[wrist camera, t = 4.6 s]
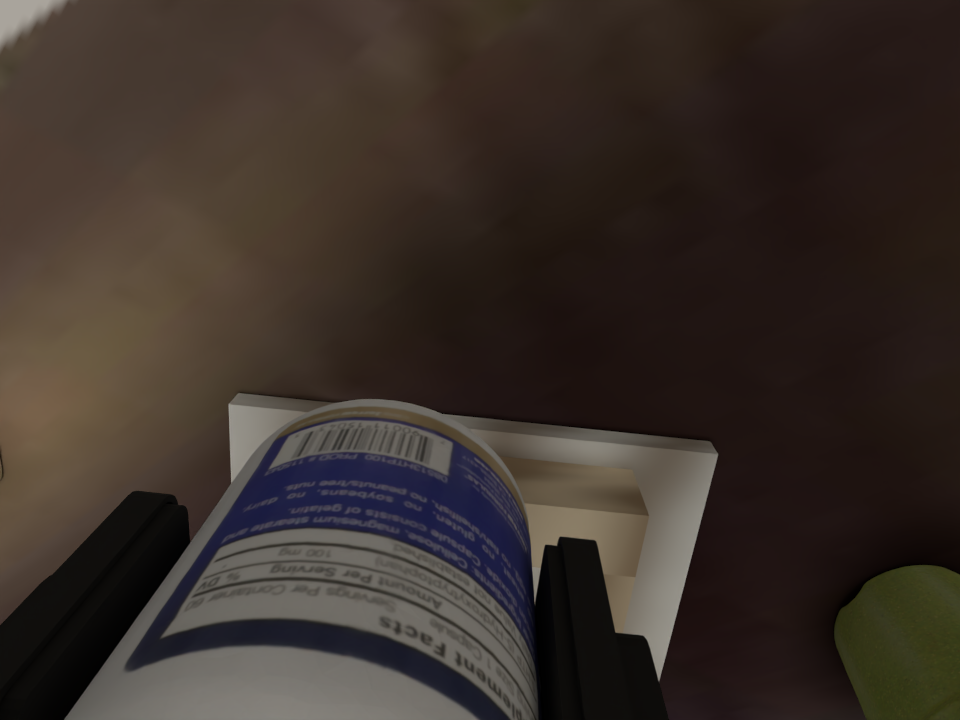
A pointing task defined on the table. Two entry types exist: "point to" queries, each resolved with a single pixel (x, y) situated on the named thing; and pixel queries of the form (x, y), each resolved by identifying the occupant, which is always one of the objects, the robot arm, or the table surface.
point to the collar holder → (575, 500)
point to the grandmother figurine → (0, 470)
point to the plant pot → (904, 644)
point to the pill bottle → (343, 585)
